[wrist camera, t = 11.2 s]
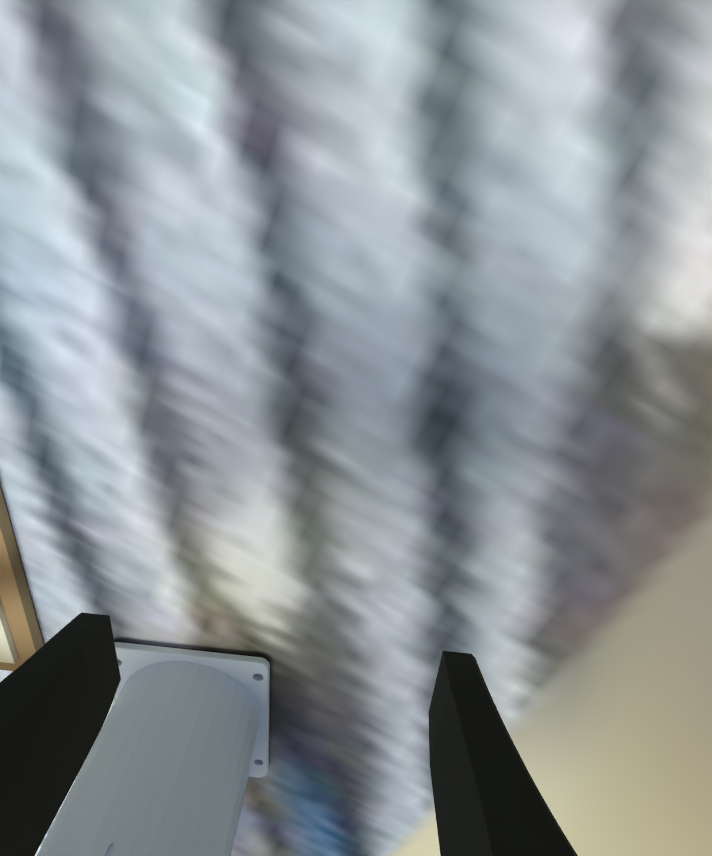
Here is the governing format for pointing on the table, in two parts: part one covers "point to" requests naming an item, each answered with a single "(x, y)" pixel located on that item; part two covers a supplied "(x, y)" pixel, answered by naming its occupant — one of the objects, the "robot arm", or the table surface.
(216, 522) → the table surface
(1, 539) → the clipboard
